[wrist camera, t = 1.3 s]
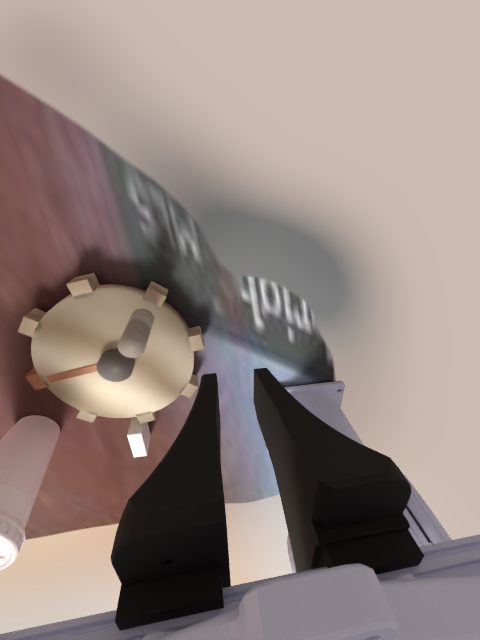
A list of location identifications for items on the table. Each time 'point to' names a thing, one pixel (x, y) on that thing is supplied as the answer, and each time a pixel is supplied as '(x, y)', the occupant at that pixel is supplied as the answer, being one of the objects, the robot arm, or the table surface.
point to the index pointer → (139, 437)
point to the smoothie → (22, 478)
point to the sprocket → (112, 350)
